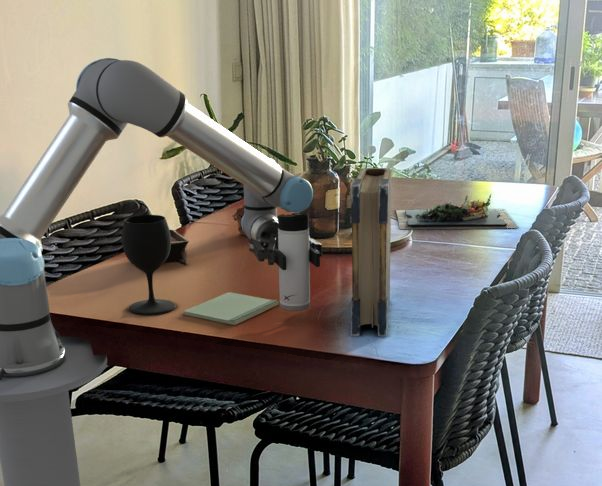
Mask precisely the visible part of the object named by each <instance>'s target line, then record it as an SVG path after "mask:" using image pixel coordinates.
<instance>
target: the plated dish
mask: <svg viewBox="0 0 602 486" xmlns="http://www.w3.org/2000/svg"><path fill="white" fill-rule="evenodd" d="M491 198H492V193H490V195H489V196H488V198H487V200H486V202H485V201H484V199H483V200H479V199H477V200H475V199H474V200H468V194H467V195H466V196H465V199H464V202H463V203H462V204H459V206H457V205H454V204H452V202H449V203H448V202H445V203H443V204H436V205H433V207H432V208H430V207H428V208H426V209H395V213H396V217H397V221H398V226H399V230H457V229H458V230H459V229H460V230H461V229H462V230H463V229H470V230H471V229H473V230H475V229H518V227H517V225H516V224H515V223H514V222H513V220H512V219H511V218H510V217H509V215H508V214H507V212H506V211H505V210H504V209H501V208H499V209H495V208H494V209H491V208H490V209H489V206H490V205H491Z"/></svg>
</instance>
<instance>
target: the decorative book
mask: <svg viewBox="0 0 602 486" xmlns="http://www.w3.org/2000/svg"><path fill="white" fill-rule="evenodd" d="M349 190H350V194H349V196H350V197H349V198H350V200H349V203H350V208H349V209H350V211H349V212H350V213H349V214H350V217H349V219H350V224H351V241H352V242H351V260H352V261H351V272H352V273H351V279H352V280H351V281H352V283H351V284H352V285H351V288H352V290H351V295H352V296H351V299H350V336H351V337H360V335H361V331H362V327H363V326H364V325H371V328H372V329H373V328H374V326H376V327H377V337H382V338H384V337H385V338H386V337H387V334H388V329H389V328H388V327H389V312H390V310H389V309H390V303H391V298H390V297H391V238H392V237H391V235H392V234H391V232H392V231H391V229H392V228H391V226H392V224H391V223H392V221H391V220H392V170H391V169H390V168H386V167H367V168H366V167H365V168H362V169H360V171H359V172H358V175H357V177H356V178H353V179H352V181H351V183H350V189H349Z"/></svg>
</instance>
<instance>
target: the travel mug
mask: <svg viewBox="0 0 602 486" xmlns="http://www.w3.org/2000/svg"><path fill="white" fill-rule="evenodd" d="M309 214H310V213H308V212H299V213H294V212H291V214H284V213H282V214H277V216H278V224H279V225H278V250H279V251H281V252H282V253H283V254H284V255H285V256H286V270H282V269H281V268H280V267H279V266H278V285H279V287H278V289H279V307H280V309H281V310H283V311H286V312H302V311H306V310H308V309H309V308H310V307H311V300H310V299H311V282H310V281H311V274H310V273H311V272H310V271H311V269H310V267H311V266H310V264H311V262H310V261H309V235H310V225H309V223H310V215H309Z"/></svg>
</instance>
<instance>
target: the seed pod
mask: <svg viewBox="0 0 602 486" xmlns="http://www.w3.org/2000/svg"><path fill="white" fill-rule="evenodd" d="M243 215H244V205H242V206H241V207H238V208H237V209H236V212H235V213H234V215H232V218H233V220H234V221H237V231H239V233H240V235H241V236H245V237H247V236H246V234H245V232H244V231H243V229H242V225H241V221H242V217H243ZM277 219H278V215H277Z"/></svg>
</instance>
